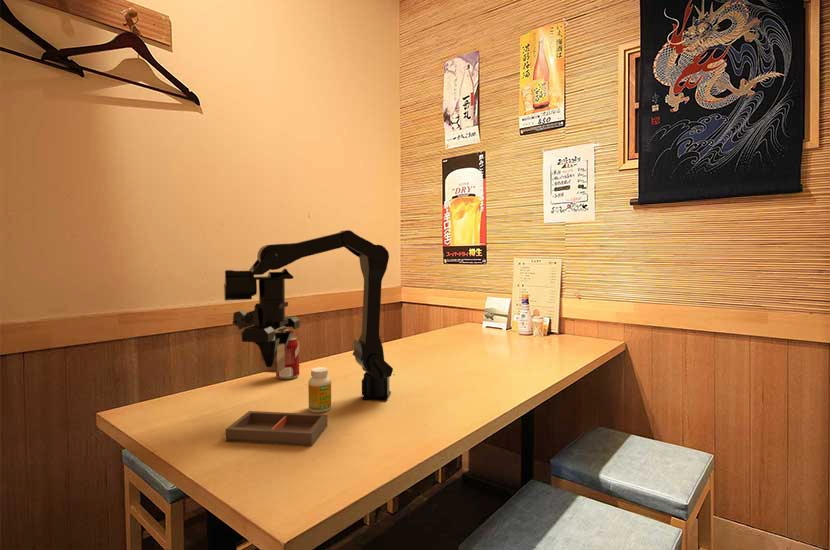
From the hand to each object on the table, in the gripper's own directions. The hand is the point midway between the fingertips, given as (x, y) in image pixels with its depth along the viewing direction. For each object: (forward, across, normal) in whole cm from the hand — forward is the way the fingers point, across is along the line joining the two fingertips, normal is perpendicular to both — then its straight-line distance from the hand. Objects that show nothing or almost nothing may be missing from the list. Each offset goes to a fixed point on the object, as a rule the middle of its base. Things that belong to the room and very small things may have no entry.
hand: (273, 364), depth 106 cm
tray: (+12, +11, +6) cm, 17 cm away
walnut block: (+1, 0, 0) cm, 1 cm away
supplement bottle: (+12, -4, +10) cm, 16 cm away
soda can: (+12, -28, -8) cm, 31 cm away
